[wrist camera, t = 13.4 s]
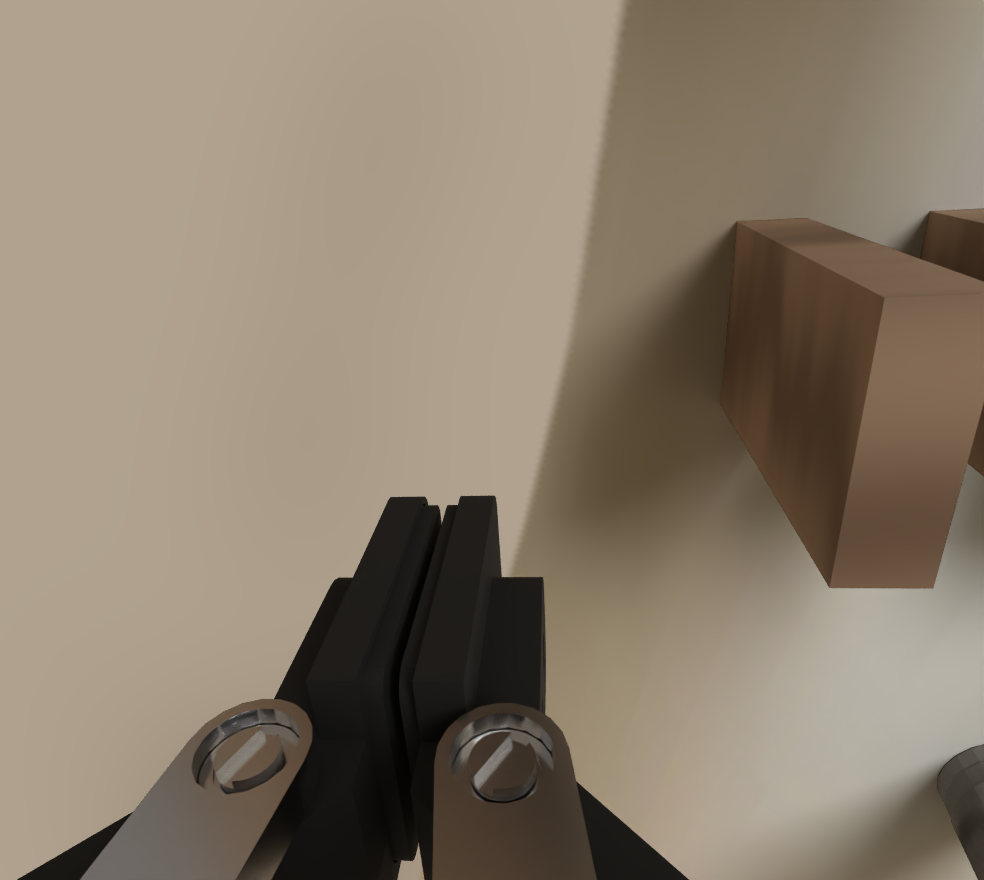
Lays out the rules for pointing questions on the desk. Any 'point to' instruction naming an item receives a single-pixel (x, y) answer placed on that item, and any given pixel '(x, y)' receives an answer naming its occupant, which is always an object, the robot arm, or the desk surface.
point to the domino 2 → (959, 271)
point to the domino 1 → (855, 394)
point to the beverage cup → (966, 802)
